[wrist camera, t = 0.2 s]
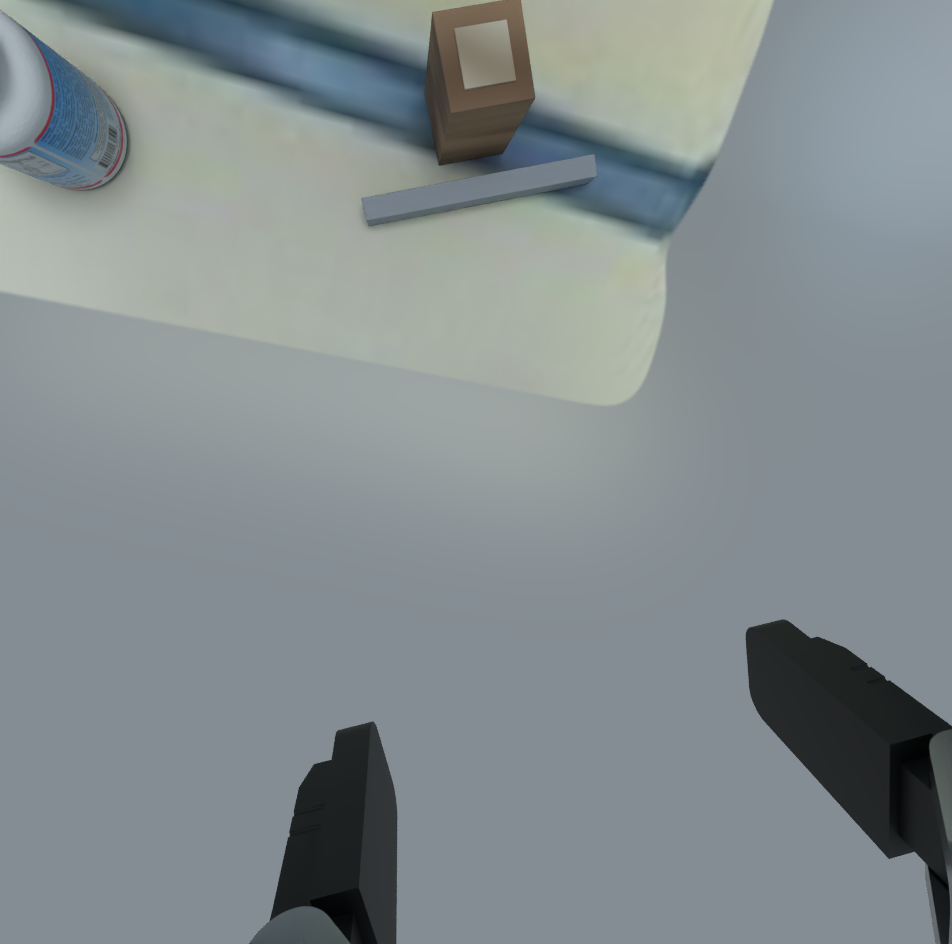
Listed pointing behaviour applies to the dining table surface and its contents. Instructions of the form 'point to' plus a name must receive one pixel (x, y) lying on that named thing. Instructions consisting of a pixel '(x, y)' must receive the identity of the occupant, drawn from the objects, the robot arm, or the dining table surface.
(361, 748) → the robot arm
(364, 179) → the dining table surface
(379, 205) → the rail
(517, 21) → the walnut block
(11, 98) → the pill bottle
